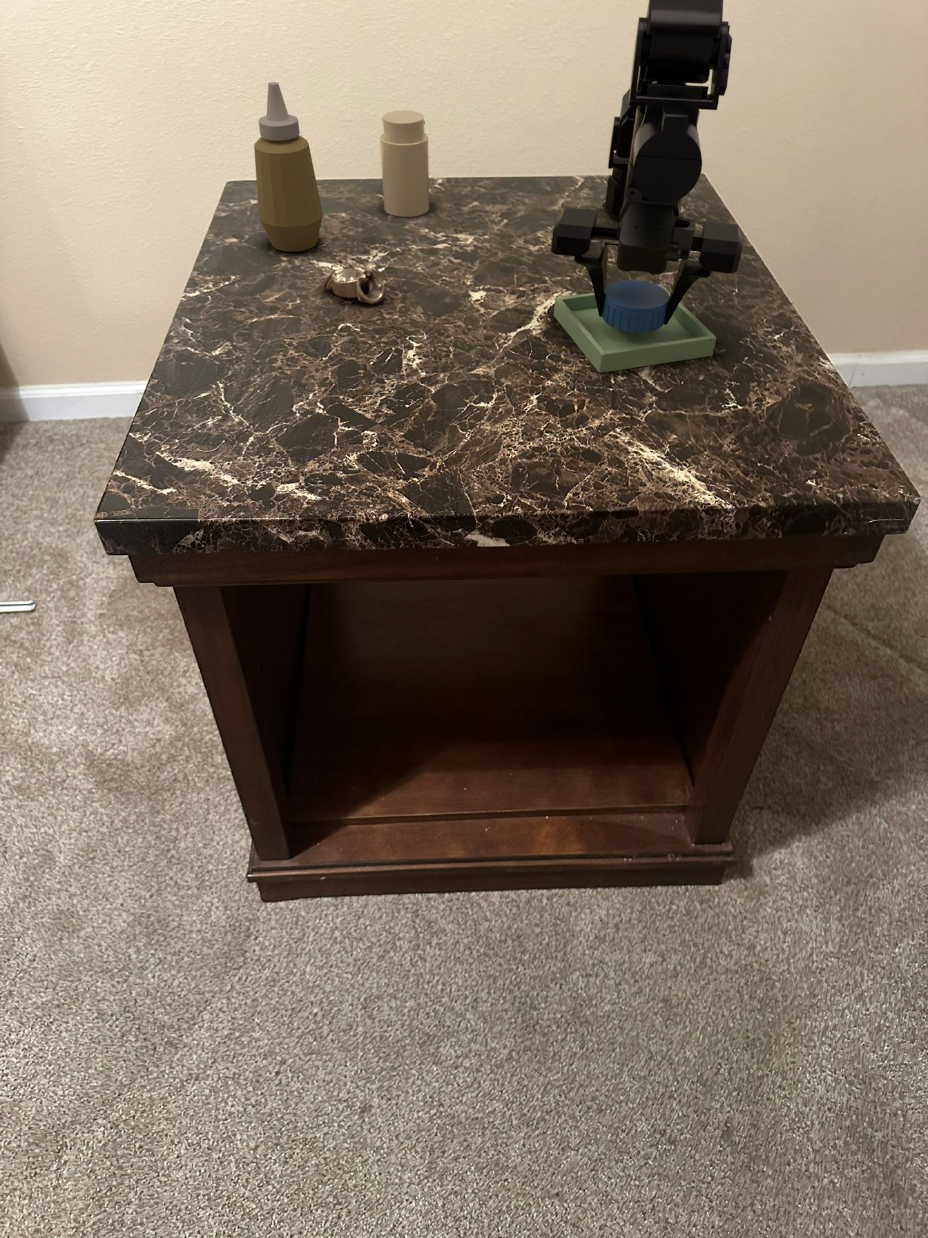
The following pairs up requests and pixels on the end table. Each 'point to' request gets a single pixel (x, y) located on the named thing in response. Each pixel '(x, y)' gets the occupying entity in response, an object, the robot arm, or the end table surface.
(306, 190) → the squeeze bottle
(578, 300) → the tray
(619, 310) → the lid
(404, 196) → the jar
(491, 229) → the end table surface
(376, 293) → the ornament
